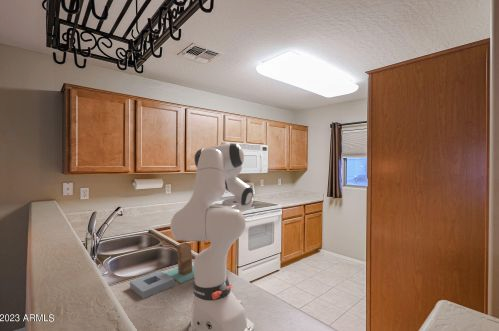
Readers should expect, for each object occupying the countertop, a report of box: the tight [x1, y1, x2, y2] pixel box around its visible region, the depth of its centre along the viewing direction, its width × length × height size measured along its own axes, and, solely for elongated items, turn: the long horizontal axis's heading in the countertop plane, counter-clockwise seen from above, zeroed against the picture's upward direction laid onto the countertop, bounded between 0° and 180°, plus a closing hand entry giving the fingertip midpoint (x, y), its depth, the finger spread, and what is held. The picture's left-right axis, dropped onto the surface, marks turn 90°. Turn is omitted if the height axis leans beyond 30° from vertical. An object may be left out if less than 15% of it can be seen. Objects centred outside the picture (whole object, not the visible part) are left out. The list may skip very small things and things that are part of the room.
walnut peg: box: [176, 242, 193, 276], centre depth 121 cm, size 5×5×14 cm
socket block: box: [129, 270, 175, 300], centre depth 108 cm, size 14×14×3 cm
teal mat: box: [164, 265, 194, 284], centre depth 121 cm, size 16×14×1 cm
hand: (209, 211), depth 125 cm, fingers open, 8 cm apart
